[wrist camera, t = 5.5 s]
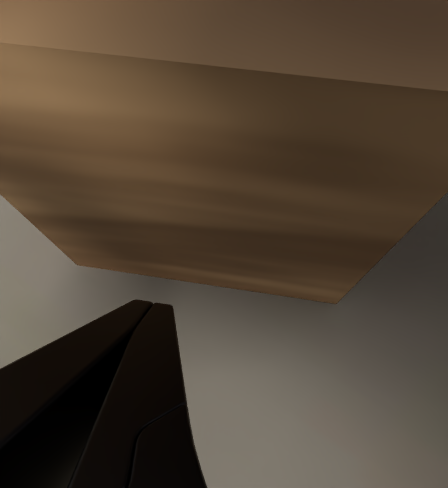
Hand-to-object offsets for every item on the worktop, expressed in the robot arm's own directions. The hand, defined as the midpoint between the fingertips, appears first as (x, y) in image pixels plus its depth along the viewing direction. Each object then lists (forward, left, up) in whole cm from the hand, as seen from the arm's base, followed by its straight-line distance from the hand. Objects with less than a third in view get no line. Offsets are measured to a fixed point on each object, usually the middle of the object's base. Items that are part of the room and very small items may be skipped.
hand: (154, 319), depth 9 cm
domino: (+4, +2, -8) cm, 9 cm away
